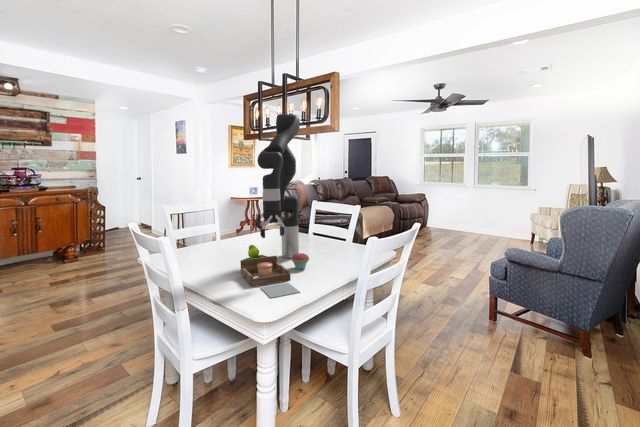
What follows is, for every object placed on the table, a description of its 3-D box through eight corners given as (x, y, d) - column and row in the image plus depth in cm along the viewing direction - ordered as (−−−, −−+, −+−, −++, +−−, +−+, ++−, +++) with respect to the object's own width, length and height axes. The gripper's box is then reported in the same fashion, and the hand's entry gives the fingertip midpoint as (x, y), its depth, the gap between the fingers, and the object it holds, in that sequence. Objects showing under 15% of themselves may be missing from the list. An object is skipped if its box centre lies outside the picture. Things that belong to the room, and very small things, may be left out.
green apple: (252, 272, 155) (251, 249, 154) (241, 269, 161) (240, 246, 160) (271, 267, 164) (270, 244, 162) (260, 264, 170) (259, 242, 168)
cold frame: (241, 275, 152) (240, 260, 151) (276, 269, 159) (276, 255, 158) (251, 286, 137) (251, 270, 136) (290, 280, 145) (290, 264, 144)
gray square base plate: (260, 288, 135) (260, 287, 135) (288, 283, 140) (288, 282, 140) (270, 298, 124) (270, 297, 124) (300, 292, 130) (300, 291, 130)
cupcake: (288, 269, 160) (288, 244, 159) (296, 264, 168) (295, 241, 166) (305, 271, 157) (304, 246, 155) (312, 266, 165) (311, 242, 163)
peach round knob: (255, 276, 149) (255, 263, 149) (269, 274, 152) (269, 261, 152) (260, 281, 144) (259, 267, 143) (274, 278, 147) (274, 265, 146)
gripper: (282, 198, 150) (283, 233, 152) (252, 199, 142) (253, 237, 144) (290, 199, 143) (291, 236, 145) (258, 200, 136) (260, 240, 138)
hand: (272, 236), depth 145 cm, fingers open, 8 cm apart
